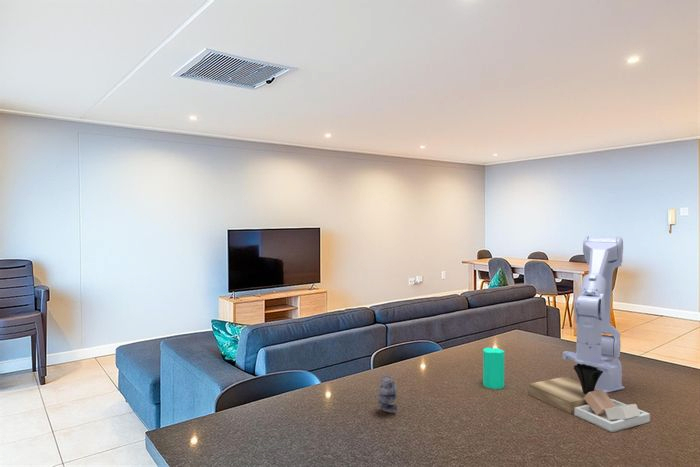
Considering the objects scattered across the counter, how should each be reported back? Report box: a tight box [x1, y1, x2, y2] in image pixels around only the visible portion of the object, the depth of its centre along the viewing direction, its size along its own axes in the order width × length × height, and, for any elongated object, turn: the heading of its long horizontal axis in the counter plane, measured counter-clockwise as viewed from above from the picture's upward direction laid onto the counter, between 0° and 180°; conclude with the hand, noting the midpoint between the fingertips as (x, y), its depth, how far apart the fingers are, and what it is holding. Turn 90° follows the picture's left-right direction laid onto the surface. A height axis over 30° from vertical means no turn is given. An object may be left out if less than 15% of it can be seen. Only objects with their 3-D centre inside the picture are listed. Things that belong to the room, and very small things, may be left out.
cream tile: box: [605, 403, 640, 420], centre depth 109 cm, size 5×5×2 cm
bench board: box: [527, 376, 610, 415], centre depth 123 cm, size 14×14×3 cm
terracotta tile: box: [584, 389, 616, 415], centre depth 114 cm, size 5×5×2 cm
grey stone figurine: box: [376, 374, 398, 413], centre depth 115 cm, size 5×5×10 cm
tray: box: [574, 398, 651, 433], centre depth 111 cm, size 14×10×2 cm
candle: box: [482, 347, 505, 390], centre depth 134 cm, size 6×6×12 cm
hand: (588, 393), depth 117 cm, fingers closed
